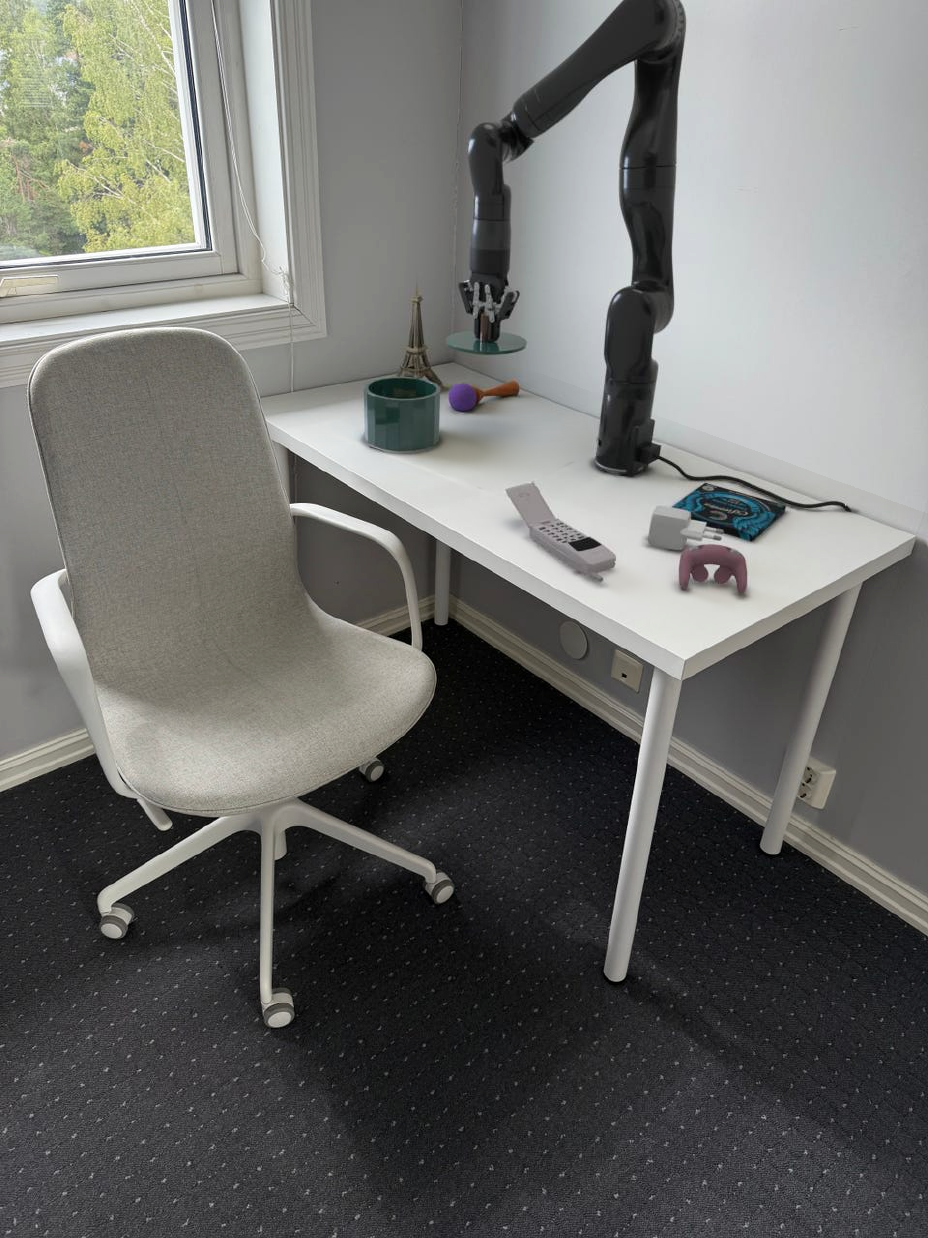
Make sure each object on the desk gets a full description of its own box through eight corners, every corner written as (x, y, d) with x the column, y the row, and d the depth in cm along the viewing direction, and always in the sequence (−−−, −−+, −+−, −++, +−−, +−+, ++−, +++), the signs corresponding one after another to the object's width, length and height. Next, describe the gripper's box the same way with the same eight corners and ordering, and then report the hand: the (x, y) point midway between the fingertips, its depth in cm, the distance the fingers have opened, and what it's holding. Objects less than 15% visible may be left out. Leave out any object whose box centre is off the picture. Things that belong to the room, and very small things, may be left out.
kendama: (526, 381, 204) (465, 392, 190) (519, 405, 207) (459, 418, 194) (507, 370, 207) (446, 380, 193) (501, 394, 210) (440, 406, 197)
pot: (454, 440, 182) (456, 388, 176) (402, 459, 172) (402, 405, 167) (401, 422, 190) (401, 371, 184) (349, 439, 180) (348, 387, 174)
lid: (542, 347, 178) (545, 314, 175) (491, 362, 168) (493, 328, 165) (481, 332, 187) (482, 300, 184) (428, 346, 176) (429, 313, 173)
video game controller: (741, 593, 136) (745, 546, 135) (748, 595, 131) (753, 546, 131) (674, 588, 136) (678, 541, 136) (679, 589, 132) (683, 541, 131)
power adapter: (720, 548, 145) (727, 514, 142) (716, 561, 141) (723, 527, 138) (651, 534, 148) (656, 501, 145) (645, 547, 145) (650, 513, 141)
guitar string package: (786, 505, 157) (753, 534, 147) (784, 512, 158) (752, 541, 148) (705, 482, 165) (668, 508, 154) (704, 489, 166) (667, 515, 155)
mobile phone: (532, 481, 151) (631, 541, 132) (530, 513, 154) (626, 576, 136) (502, 488, 148) (598, 550, 130) (500, 521, 151) (594, 586, 133)
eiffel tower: (422, 400, 202) (423, 282, 189) (383, 391, 207) (382, 275, 194) (447, 389, 210) (450, 275, 197) (409, 380, 214) (410, 268, 201)
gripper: (533, 247, 166) (526, 343, 175) (474, 237, 174) (471, 329, 183) (507, 251, 161) (502, 350, 170) (448, 241, 169) (446, 336, 178)
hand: (486, 339), depth 177 cm, fingers closed on lid, 2 cm apart
